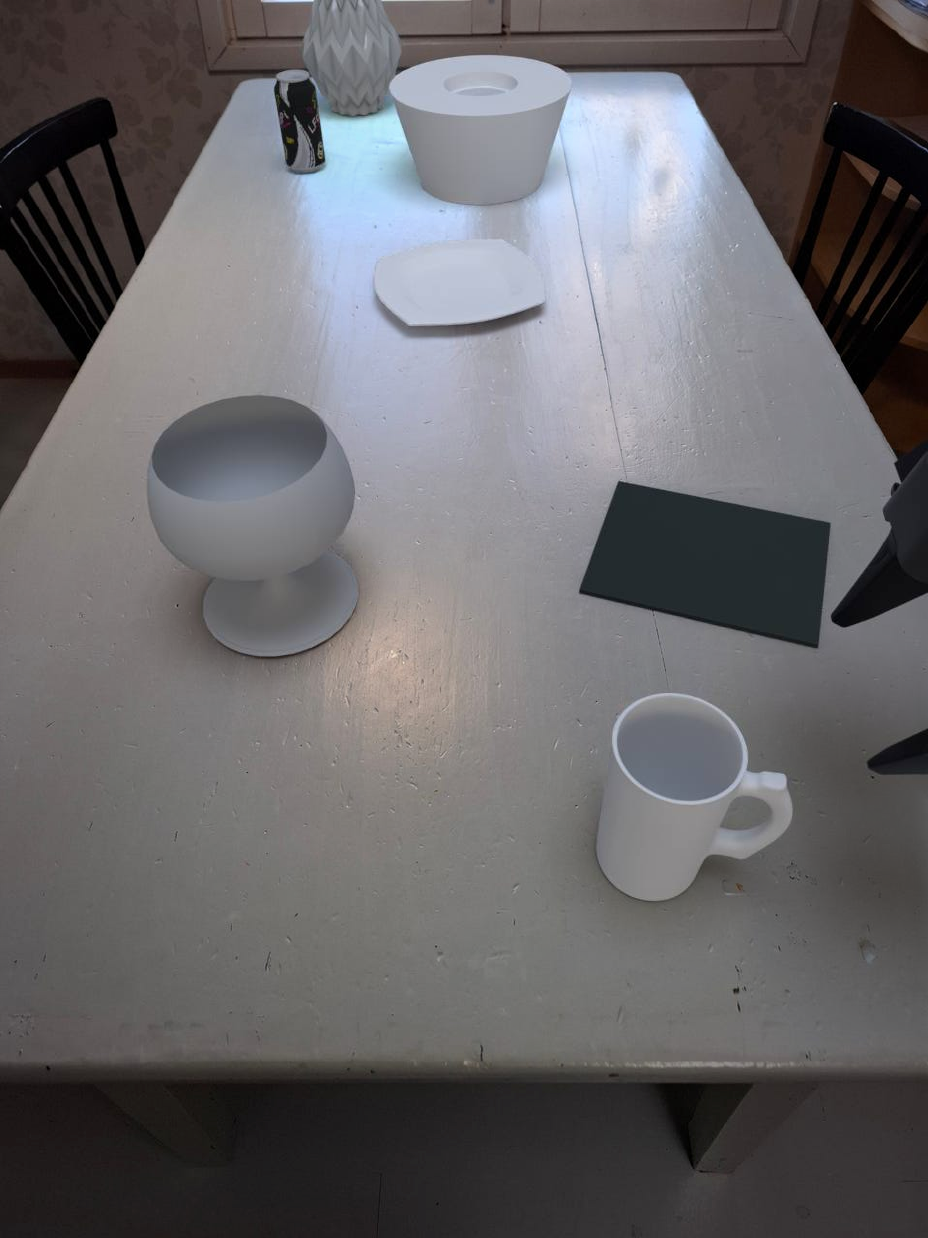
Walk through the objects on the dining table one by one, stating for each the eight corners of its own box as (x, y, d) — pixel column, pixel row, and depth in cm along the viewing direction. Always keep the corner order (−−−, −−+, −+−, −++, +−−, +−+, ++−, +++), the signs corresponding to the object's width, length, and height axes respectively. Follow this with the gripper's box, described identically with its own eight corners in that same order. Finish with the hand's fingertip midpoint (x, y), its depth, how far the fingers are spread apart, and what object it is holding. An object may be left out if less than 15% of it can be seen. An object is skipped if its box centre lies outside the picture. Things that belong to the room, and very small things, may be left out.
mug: (581, 890, 51) (601, 786, 42) (601, 794, 55) (622, 681, 46) (755, 934, 49) (814, 835, 40) (761, 831, 53) (816, 720, 44)
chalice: (407, 600, 67) (389, 444, 56) (258, 701, 61) (205, 549, 50) (301, 516, 74) (267, 362, 63) (158, 599, 68) (92, 445, 56)
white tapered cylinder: (568, 148, 128) (574, 55, 119) (563, 217, 112) (570, 116, 103) (410, 145, 130) (404, 54, 121) (383, 213, 114) (374, 114, 105)
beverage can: (316, 176, 123) (302, 82, 114) (280, 173, 124) (264, 79, 115) (332, 161, 126) (320, 68, 117) (297, 158, 128) (282, 66, 119)
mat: (829, 526, 72) (830, 522, 71) (817, 648, 63) (818, 644, 63) (618, 484, 76) (618, 480, 76) (579, 592, 67) (579, 589, 67)
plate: (566, 321, 95) (567, 304, 93) (396, 350, 91) (395, 334, 90) (511, 245, 107) (511, 230, 105) (360, 269, 104) (358, 253, 102)
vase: (411, 121, 137) (402, -20, 123) (308, 129, 135) (288, -13, 122) (402, 88, 147) (393, -46, 134) (307, 95, 146) (288, -39, 132)
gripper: (975, 279, 37) (716, 501, 47) (1167, 608, 25) (763, 806, 35) (1128, 401, 40) (857, 581, 51) (1358, 737, 29) (941, 880, 39)
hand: (853, 690), depth 44 cm, fingers open, 9 cm apart
